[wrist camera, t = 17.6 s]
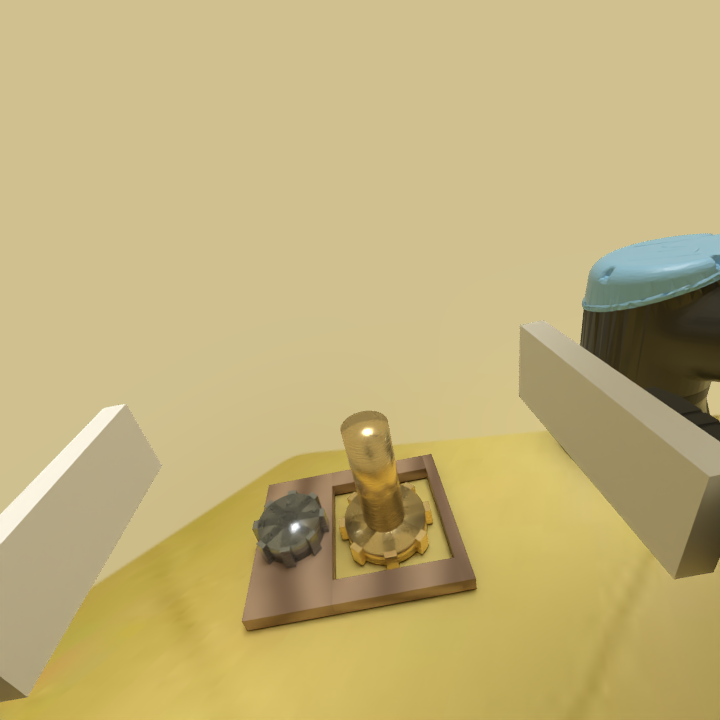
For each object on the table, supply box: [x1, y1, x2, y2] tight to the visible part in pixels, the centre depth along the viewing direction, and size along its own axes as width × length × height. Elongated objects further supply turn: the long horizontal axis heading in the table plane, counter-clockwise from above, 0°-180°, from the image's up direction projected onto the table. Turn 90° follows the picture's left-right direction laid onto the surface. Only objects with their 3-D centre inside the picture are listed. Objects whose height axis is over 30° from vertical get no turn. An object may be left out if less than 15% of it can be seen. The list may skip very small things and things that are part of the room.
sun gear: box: [252, 490, 329, 569], centre depth 39 cm, size 8×8×2 cm
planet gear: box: [339, 411, 433, 570], centre depth 37 cm, size 10×10×14 cm
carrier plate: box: [242, 454, 476, 631], centre depth 40 cm, size 21×16×2 cm
